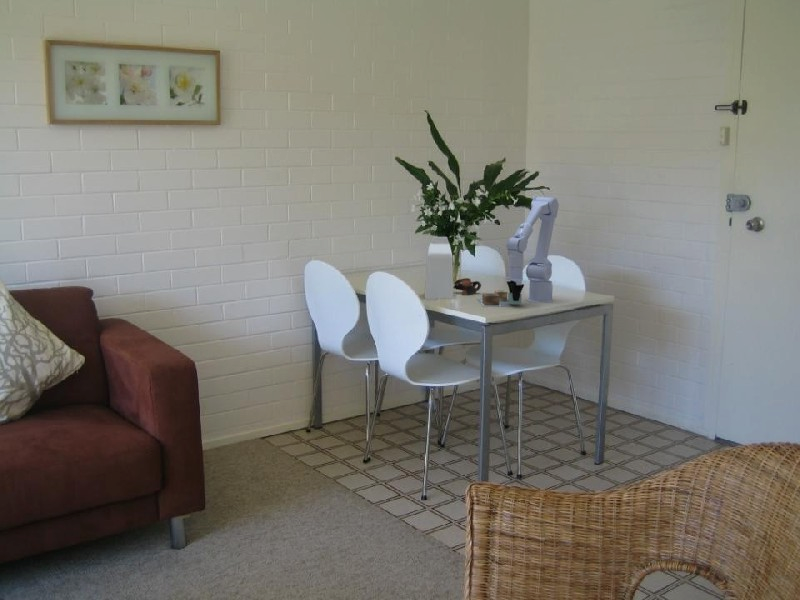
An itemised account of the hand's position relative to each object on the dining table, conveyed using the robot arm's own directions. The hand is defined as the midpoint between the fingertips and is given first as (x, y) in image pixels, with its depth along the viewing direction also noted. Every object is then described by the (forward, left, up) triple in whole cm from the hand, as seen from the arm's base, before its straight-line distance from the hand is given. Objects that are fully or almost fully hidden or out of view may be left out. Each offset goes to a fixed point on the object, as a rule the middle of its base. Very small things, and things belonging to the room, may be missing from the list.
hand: (514, 299), depth 366 cm
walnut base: (+10, -2, -2) cm, 10 cm away
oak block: (+4, -11, -2) cm, 12 cm away
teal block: (0, 0, -2) cm, 2 cm away
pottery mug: (+15, -29, -3) cm, 33 cm away
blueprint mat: (+5, -5, -3) cm, 8 cm away
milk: (+29, -22, -3) cm, 36 cm away
